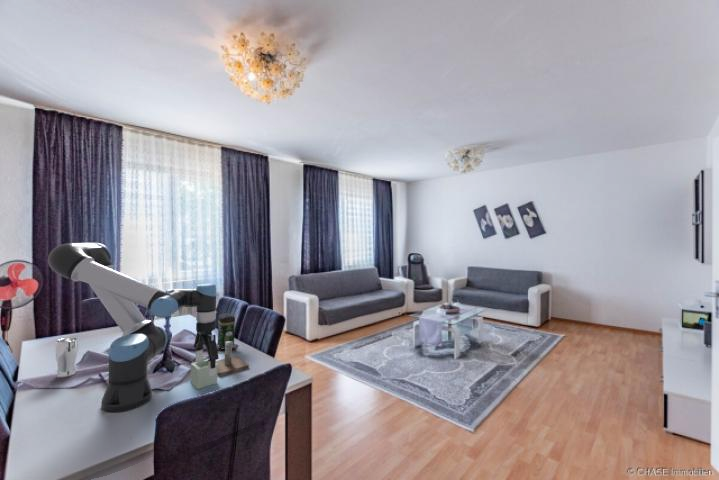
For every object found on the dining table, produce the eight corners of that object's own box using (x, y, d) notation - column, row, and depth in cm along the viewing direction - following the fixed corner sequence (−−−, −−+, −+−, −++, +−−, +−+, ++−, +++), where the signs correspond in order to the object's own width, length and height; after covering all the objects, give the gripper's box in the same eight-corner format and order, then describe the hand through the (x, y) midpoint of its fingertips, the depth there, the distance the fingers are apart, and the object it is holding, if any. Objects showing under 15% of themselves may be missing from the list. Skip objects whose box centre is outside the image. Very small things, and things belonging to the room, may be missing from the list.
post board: (219, 376, 140) (220, 349, 140) (206, 366, 150) (207, 341, 149) (248, 368, 150) (249, 343, 150) (235, 358, 160) (236, 335, 160)
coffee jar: (215, 346, 176) (216, 313, 175) (230, 343, 181) (231, 311, 180) (220, 351, 168) (222, 317, 168) (235, 348, 173) (237, 315, 173)
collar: (197, 389, 129) (197, 369, 128) (190, 382, 134) (190, 363, 134) (217, 382, 134) (217, 364, 134) (209, 376, 140) (210, 358, 140)
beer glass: (77, 374, 135) (79, 340, 135) (55, 379, 130) (56, 343, 130) (76, 369, 140) (77, 336, 140) (54, 374, 135) (55, 339, 135)
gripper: (227, 325, 128) (226, 377, 128) (203, 313, 145) (203, 358, 145) (208, 329, 122) (207, 383, 123) (186, 316, 139) (185, 363, 140)
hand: (205, 370), depth 134 cm, fingers open, 13 cm apart
